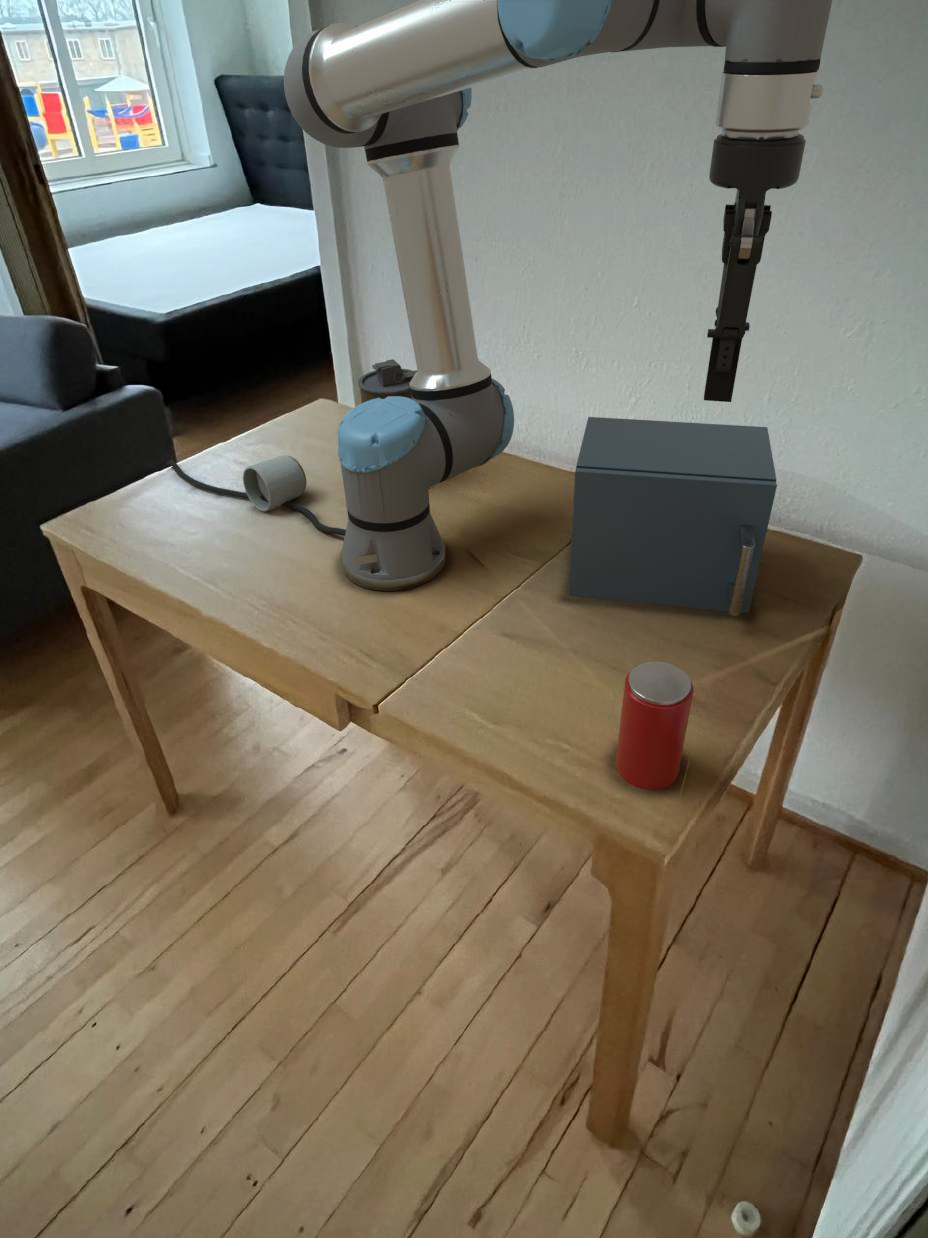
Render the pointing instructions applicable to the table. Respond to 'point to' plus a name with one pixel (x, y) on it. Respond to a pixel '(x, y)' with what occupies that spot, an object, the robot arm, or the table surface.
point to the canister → (386, 381)
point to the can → (653, 724)
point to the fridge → (677, 448)
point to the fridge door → (668, 538)
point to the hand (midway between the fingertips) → (717, 398)
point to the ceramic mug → (274, 482)
